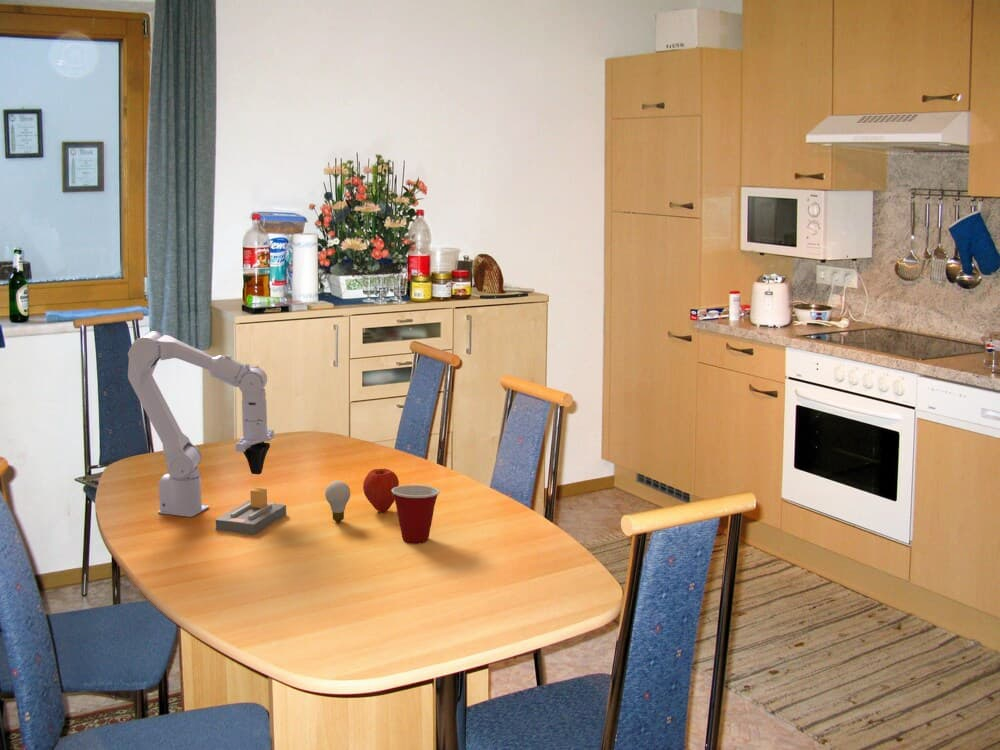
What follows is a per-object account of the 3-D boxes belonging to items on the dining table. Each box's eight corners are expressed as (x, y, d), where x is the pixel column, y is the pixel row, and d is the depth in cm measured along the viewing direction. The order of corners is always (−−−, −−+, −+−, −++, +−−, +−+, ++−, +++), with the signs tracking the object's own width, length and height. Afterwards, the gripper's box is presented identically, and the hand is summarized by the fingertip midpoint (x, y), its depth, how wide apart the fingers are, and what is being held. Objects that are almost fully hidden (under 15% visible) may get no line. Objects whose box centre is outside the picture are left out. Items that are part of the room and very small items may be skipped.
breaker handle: (250, 506, 264) (250, 490, 263) (256, 503, 266) (255, 487, 266) (262, 508, 263) (261, 491, 263) (267, 505, 266) (266, 489, 265)
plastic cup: (447, 534, 255) (447, 484, 253) (428, 550, 245) (428, 498, 243) (403, 529, 258) (403, 479, 256) (383, 544, 248) (383, 492, 246)
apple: (357, 514, 269) (356, 471, 266) (374, 504, 276) (373, 462, 274) (389, 519, 265) (388, 475, 263) (405, 508, 273) (405, 466, 271)
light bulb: (346, 526, 260) (345, 485, 258) (322, 525, 261) (321, 484, 259) (354, 518, 265) (353, 478, 263) (330, 517, 266) (329, 476, 264)
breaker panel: (215, 529, 257) (215, 516, 256) (249, 510, 271) (249, 497, 270) (254, 534, 254) (253, 521, 253) (286, 514, 268) (285, 501, 267)
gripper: (253, 427, 258) (255, 483, 261) (284, 413, 272) (285, 467, 274) (227, 424, 260) (229, 480, 263) (258, 411, 274) (260, 464, 276)
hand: (256, 473), depth 269 cm, fingers closed
